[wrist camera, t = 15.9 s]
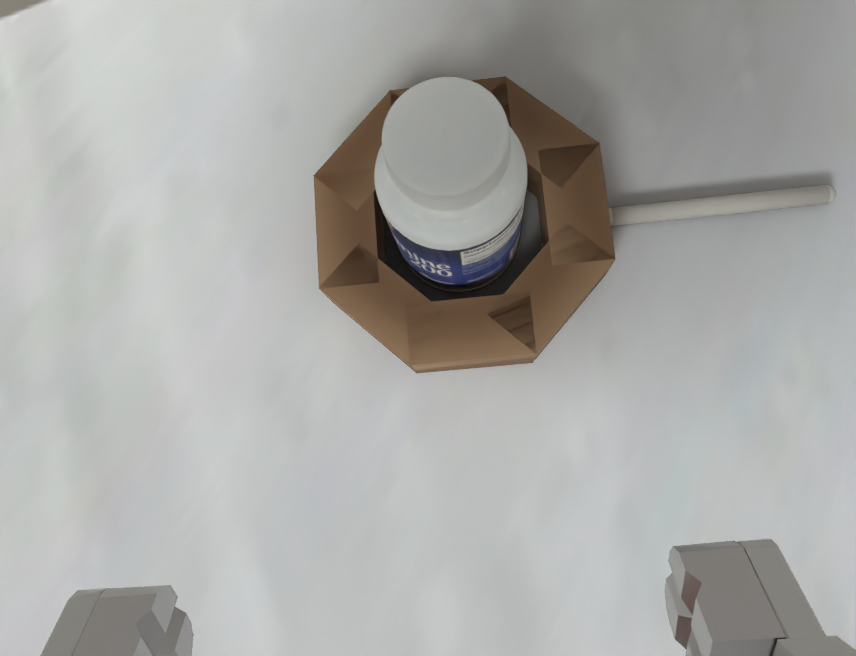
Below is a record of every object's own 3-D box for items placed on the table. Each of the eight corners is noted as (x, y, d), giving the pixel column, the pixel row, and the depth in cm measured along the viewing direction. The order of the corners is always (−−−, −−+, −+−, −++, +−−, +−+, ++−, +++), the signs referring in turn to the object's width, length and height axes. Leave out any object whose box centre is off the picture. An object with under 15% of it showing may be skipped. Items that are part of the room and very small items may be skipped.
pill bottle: (375, 229, 31) (324, 124, 21) (468, 158, 31) (458, 23, 21) (448, 319, 30) (429, 252, 20) (544, 245, 30) (569, 143, 20)
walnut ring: (336, 380, 29) (323, 373, 27) (323, 127, 32) (310, 100, 29) (616, 355, 29) (627, 345, 26) (581, 97, 31) (588, 65, 29)
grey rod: (601, 229, 30) (603, 223, 29) (598, 212, 30) (601, 205, 29) (832, 205, 29) (841, 198, 28) (828, 188, 29) (838, 180, 28)
